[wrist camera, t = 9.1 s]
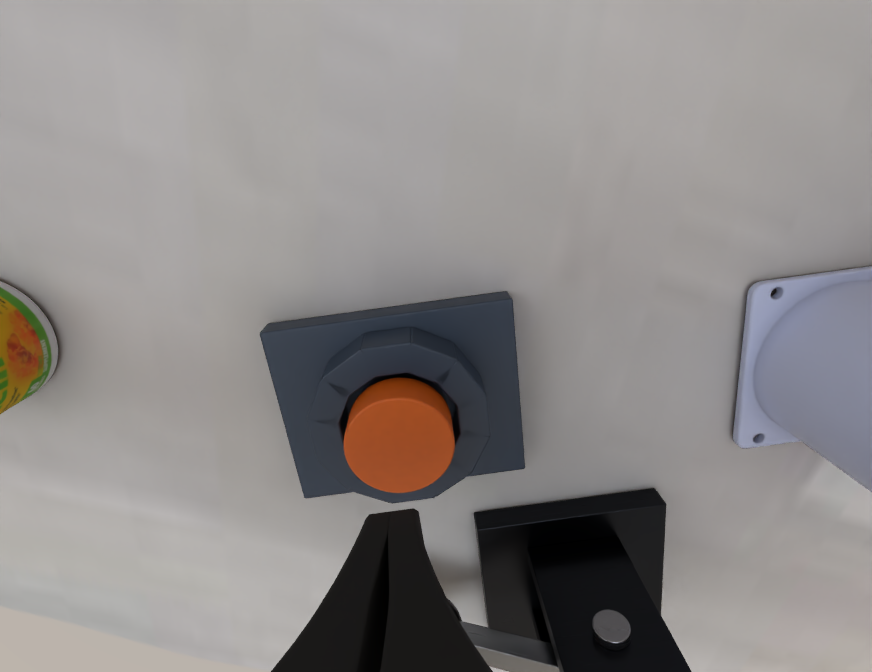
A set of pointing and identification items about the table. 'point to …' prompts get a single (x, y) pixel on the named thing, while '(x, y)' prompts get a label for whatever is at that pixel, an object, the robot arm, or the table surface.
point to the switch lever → (510, 649)
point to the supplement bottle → (23, 347)
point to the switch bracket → (582, 580)
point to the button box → (406, 358)
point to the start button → (399, 435)
